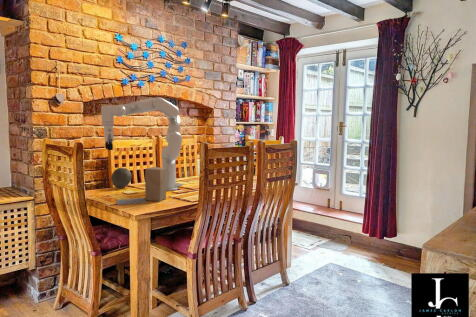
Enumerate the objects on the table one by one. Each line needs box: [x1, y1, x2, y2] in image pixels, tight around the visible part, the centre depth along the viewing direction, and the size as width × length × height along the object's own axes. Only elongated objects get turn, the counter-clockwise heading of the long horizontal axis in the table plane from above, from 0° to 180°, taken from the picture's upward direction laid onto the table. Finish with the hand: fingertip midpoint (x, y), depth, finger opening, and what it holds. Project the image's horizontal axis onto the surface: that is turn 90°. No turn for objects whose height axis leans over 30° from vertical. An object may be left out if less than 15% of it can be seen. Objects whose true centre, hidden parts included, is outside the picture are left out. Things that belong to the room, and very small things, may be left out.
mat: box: [115, 197, 148, 206], centre depth 221 cm, size 17×14×1 cm
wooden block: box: [144, 166, 167, 202], centre depth 226 cm, size 10×10×20 cm
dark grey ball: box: [110, 167, 133, 189], centre depth 265 cm, size 14×14×15 cm
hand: (109, 149), depth 240 cm, fingers open, 9 cm apart
